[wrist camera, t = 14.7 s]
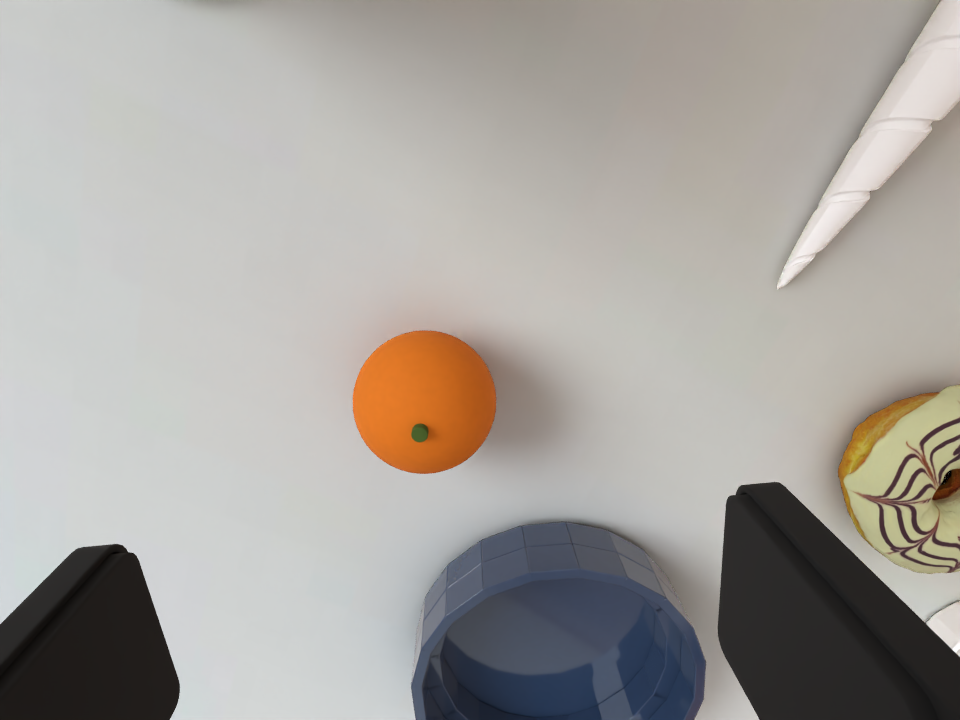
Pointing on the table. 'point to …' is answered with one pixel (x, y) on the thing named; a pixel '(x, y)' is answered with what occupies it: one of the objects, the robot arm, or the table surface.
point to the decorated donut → (908, 481)
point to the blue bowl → (555, 633)
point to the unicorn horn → (889, 132)
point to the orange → (424, 402)
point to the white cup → (948, 626)
